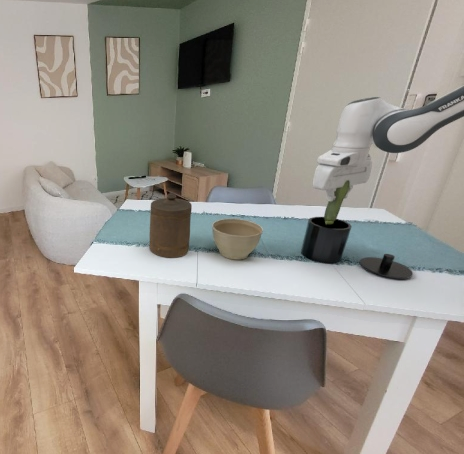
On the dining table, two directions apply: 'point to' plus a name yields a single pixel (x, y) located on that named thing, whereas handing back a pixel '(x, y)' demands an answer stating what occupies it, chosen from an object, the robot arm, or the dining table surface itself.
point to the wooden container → (170, 226)
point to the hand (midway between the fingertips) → (336, 199)
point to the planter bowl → (236, 237)
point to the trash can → (325, 240)
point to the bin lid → (386, 267)
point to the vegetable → (335, 204)
